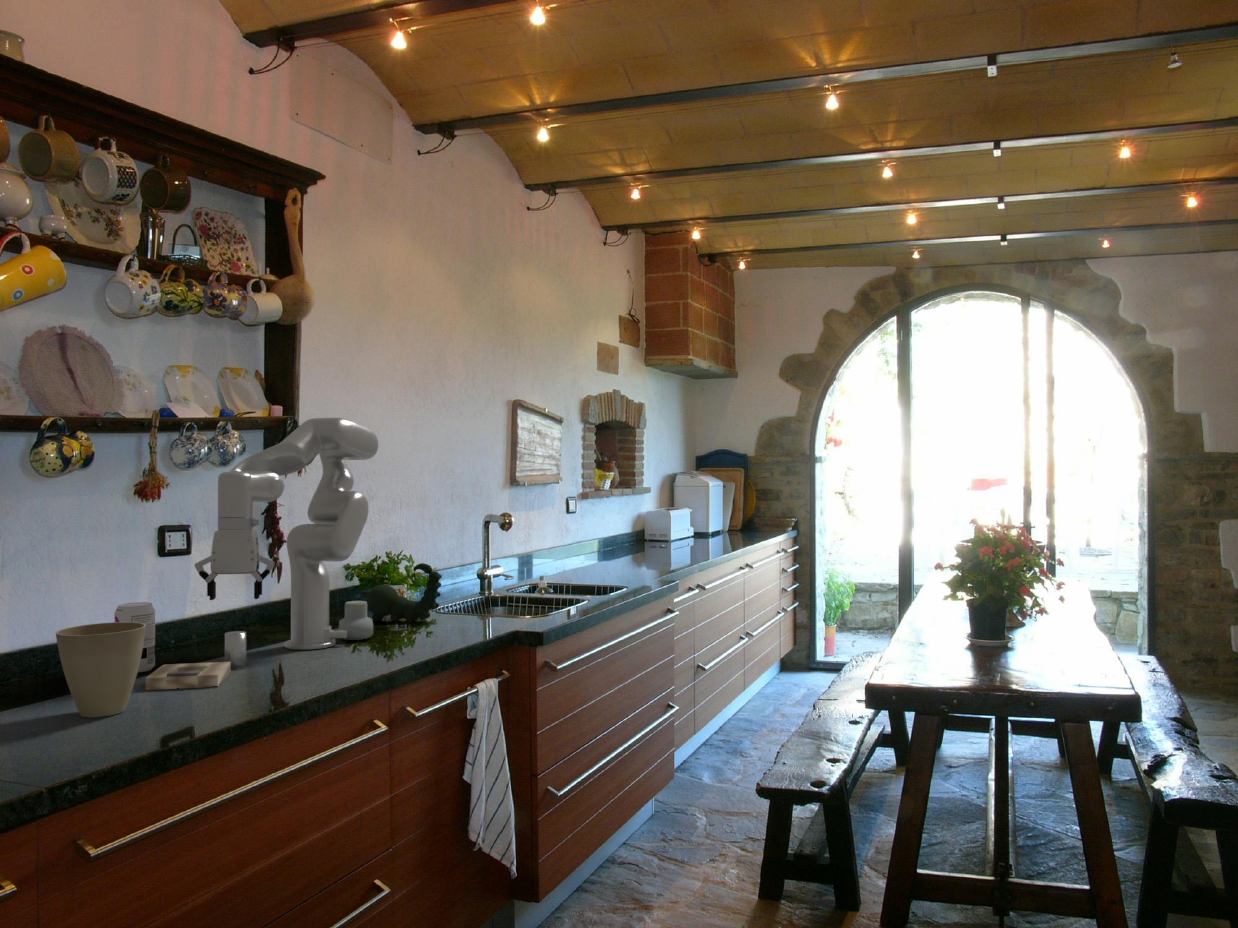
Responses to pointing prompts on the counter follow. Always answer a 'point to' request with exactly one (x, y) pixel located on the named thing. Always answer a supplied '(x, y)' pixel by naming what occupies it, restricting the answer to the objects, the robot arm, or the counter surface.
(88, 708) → the plant pot
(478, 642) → the counter surface
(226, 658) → the bushing
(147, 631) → the supplement can
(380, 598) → the toy figurine
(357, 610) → the air freshener
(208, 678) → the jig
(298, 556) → the robot arm
